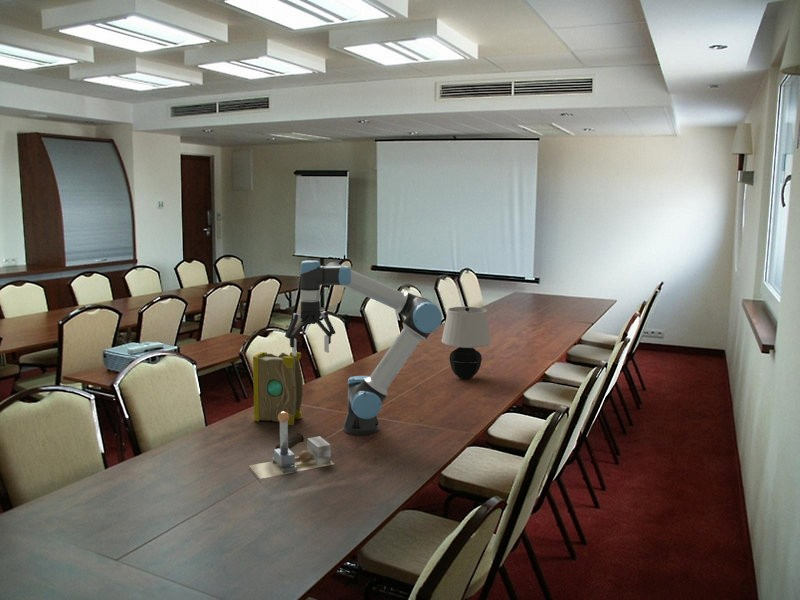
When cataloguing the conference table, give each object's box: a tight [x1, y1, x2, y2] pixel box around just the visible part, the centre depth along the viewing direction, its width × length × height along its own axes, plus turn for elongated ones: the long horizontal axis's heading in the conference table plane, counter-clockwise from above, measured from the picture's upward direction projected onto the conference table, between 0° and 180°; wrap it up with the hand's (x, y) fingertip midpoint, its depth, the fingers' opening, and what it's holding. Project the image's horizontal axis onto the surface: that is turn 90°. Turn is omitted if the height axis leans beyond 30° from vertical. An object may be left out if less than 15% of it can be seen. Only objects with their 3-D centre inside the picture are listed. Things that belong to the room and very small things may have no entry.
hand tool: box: [274, 433, 305, 449], centre depth 260 cm, size 19×4×5 cm, turn 157°
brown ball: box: [298, 449, 311, 462], centre depth 244 cm, size 4×4×4 cm
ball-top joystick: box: [271, 411, 297, 473], centre depth 239 cm, size 5×12×20 cm, turn 30°
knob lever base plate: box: [248, 435, 335, 484], centre depth 242 cm, size 28×13×8 cm, turn 120°
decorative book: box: [252, 351, 304, 426], centre depth 293 cm, size 20×11×30 cm, turn 77°
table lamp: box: [440, 306, 492, 381], centre depth 365 cm, size 27×27×40 cm
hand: (310, 353), depth 263 cm, fingers open, 13 cm apart
